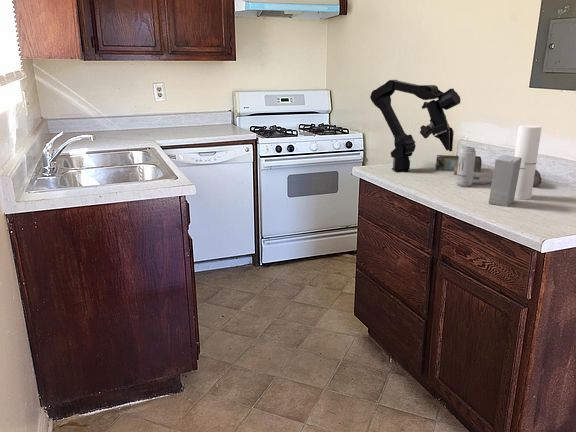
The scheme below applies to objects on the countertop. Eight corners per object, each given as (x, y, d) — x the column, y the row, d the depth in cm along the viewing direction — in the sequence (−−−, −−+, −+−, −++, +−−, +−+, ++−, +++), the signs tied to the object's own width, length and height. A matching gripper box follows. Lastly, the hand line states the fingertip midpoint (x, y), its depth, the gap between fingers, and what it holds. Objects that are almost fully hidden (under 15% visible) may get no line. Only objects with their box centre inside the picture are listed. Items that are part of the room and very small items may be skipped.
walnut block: (459, 176, 204) (460, 167, 203) (453, 174, 208) (454, 165, 207) (467, 175, 205) (468, 166, 204) (461, 174, 209) (462, 164, 208)
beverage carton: (435, 167, 224) (436, 153, 222) (479, 169, 218) (481, 155, 216) (435, 170, 216) (436, 156, 214) (481, 173, 211) (482, 158, 209)
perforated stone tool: (545, 188, 183) (548, 171, 181) (531, 189, 183) (534, 171, 181) (525, 179, 198) (528, 163, 196) (513, 180, 198) (515, 163, 195)
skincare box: (495, 198, 171) (500, 154, 166) (516, 202, 166) (523, 156, 162) (487, 203, 165) (492, 157, 160) (509, 207, 160) (515, 160, 155)
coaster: (469, 185, 190) (469, 183, 190) (458, 178, 200) (458, 177, 200) (497, 184, 190) (497, 182, 190) (484, 178, 201) (484, 176, 201)
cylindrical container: (533, 200, 169) (544, 127, 161) (511, 199, 170) (521, 127, 162) (528, 194, 175) (538, 125, 168) (507, 193, 177) (516, 124, 169)
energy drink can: (452, 184, 191) (456, 146, 186) (465, 183, 193) (469, 145, 188) (462, 188, 185) (466, 149, 181) (475, 186, 187) (479, 148, 183)
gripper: (421, 124, 208) (433, 158, 208) (413, 120, 192) (426, 157, 191) (447, 114, 204) (459, 149, 203) (441, 108, 187) (454, 147, 186)
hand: (449, 150), depth 196 cm, fingers open, 9 cm apart
